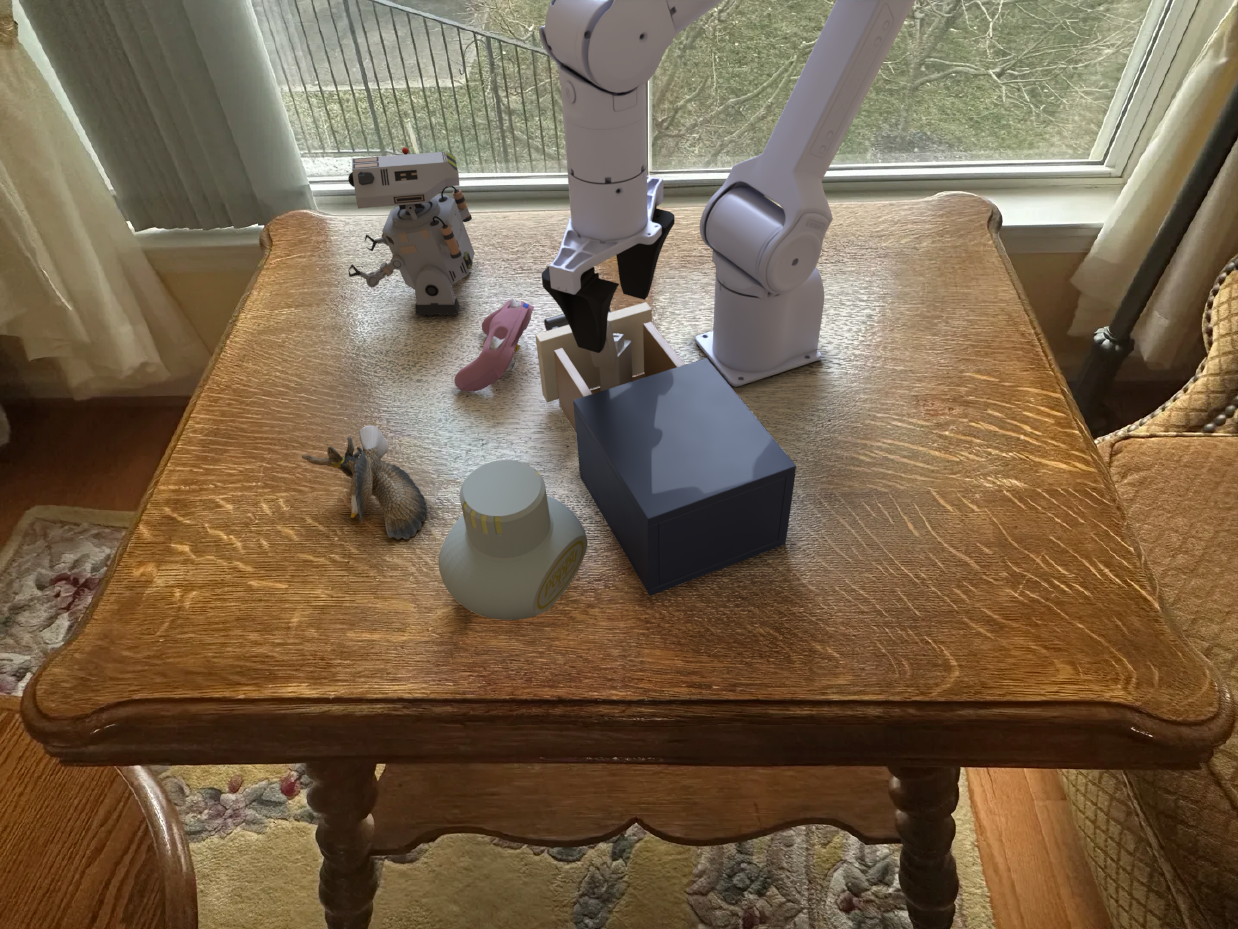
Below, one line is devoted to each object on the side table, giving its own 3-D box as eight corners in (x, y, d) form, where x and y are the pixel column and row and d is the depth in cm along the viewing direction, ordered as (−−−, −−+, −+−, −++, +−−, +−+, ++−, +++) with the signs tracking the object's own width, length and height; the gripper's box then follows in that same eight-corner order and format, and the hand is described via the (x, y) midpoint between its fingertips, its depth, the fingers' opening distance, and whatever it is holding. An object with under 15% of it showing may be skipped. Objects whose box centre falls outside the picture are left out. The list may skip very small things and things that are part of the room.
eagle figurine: (292, 502, 76) (347, 548, 70) (307, 418, 74) (365, 458, 68) (375, 500, 81) (432, 542, 75) (391, 421, 80) (451, 458, 74)
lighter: (614, 384, 83) (610, 297, 80) (633, 386, 83) (630, 298, 79) (589, 416, 77) (584, 323, 74) (609, 418, 77) (605, 324, 73)
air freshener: (514, 511, 76) (499, 419, 69) (602, 549, 73) (595, 457, 65) (429, 608, 69) (403, 518, 62) (522, 655, 66) (505, 565, 59)
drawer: (526, 367, 87) (517, 307, 82) (628, 337, 90) (626, 276, 85) (596, 485, 76) (591, 423, 71) (710, 446, 79) (713, 384, 74)
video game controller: (494, 411, 87) (519, 361, 82) (448, 389, 86) (471, 338, 81) (523, 346, 93) (548, 296, 89) (481, 325, 93) (504, 274, 88)
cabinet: (579, 477, 78) (572, 399, 72) (704, 435, 81) (707, 357, 75) (649, 597, 69) (647, 519, 63) (786, 544, 72) (796, 465, 66)
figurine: (381, 268, 102) (347, 136, 91) (486, 267, 101) (464, 134, 90) (360, 319, 95) (322, 182, 85) (472, 318, 94) (448, 181, 84)
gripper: (608, 225, 61) (615, 385, 71) (700, 132, 70) (695, 285, 80) (516, 202, 64) (535, 360, 73) (616, 115, 73) (621, 266, 82)
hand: (613, 320), depth 77 cm, fingers open, 7 cm apart
